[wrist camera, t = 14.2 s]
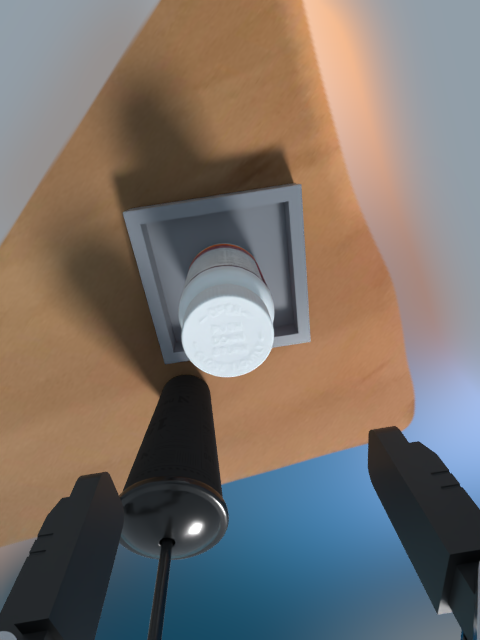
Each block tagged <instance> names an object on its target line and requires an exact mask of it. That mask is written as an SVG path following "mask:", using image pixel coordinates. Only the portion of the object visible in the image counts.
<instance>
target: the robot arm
mask: <svg viewBox="0 0 480 640" xmlns="http://www.w3.org/2000/svg"><path fill="white" fill-rule="evenodd" d="M368 470H369V475H370V479H371V482H372V484H373V487H374V489H375V491H376V493H377V495H378V497H379V499H380V501H381V503H382V505H383V507H384V509H385V510H386V513H387V515H388V517H389V519H390V521H391V523H392V525H393V527H394V529H395V531H396V533H397V535H398V537H399V539H400V540H401V543H402V545H403V547H404V548H405V550H406V553H407V555H408V557H409V559H410V560H411V562H412V564H413V566H414V568H415V570H416V572H417V574H418V576H419V578H420V580H421V582H422V584H423V586H424V588H425V590H426V592H427V594H428V596H429V598H430V600H431V602H432V604H433V606H434V608H435V610H436V612H437V614H438V615H439V614H445V613H450V612H453V614H454V616H455V618H456V619H457V621H458V623H459V625H460V627H461V639H460V640H480V509H479V508H478V507H477V505H476V504H475V503H474V501H473V500H472V499H471V498H470V496H469V495H468V494H467V493H466V491H465V490H464V489H463V488H462V487H460V484H459V482H458V481H457V480H456V478H455V477H454V476H453V475H452V474H450V472H449V469H448V468H447V467H446V466H445V464H444V463H443V462H442V461H441V459H440V458H439V457H438V455H437V454H436V453H434V452H433V451H432V450H430V449H429V448H427V447H426V446H424V445H423V444H422V443H420V442H412V443H409V442H408V441H407V439H406V438H405V437H404V435H403V434H402V432H401V431H400V430H399V429H398V428H397V427H396V426H392V427H386V428H380V429H373V430H370V431H369V443H368ZM123 524H124V509H123V505H122V502H121V500H120V497H119V495H118V493H117V490H116V488H115V486H114V483H113V481H112V479H111V476H110V474H109V473H108V472H102V473H96V474H89V475H83V476H80V477H79V478H78V480H77V481H76V484H75V486H74V488H73V490H72V493H71V495H70V497H66V498H62V499H61V500H60V501H59V502H58V503H57V505H56V506H55V507H54V508H53V509H52V511H51V512H50V513H49V514H48V515H47V517H46V519H45V521H44V523H43V525H42V527H41V529H40V531H39V534H38V538H37V540H35V542H34V544H33V546H32V548H31V550H30V555H29V557H27V559H26V561H25V563H24V565H23V567H22V569H21V571H20V573H19V575H18V577H17V579H16V581H15V584H14V586H13V588H12V590H11V592H10V594H9V596H8V598H7V600H6V602H5V604H4V606H3V609H2V611H1V613H0V640H94V639H95V635H96V631H97V627H98V623H99V619H100V616H101V612H102V607H103V603H104V600H105V596H106V592H107V588H108V584H109V580H110V576H111V572H112V568H113V564H114V560H115V556H116V552H117V549H118V545H119V541H120V537H121V533H122V529H123Z"/></svg>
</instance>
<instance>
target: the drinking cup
mask: <svg viewBox="0 0 480 640" xmlns="http://www.w3.org/2000/svg"><path fill="white" fill-rule="evenodd" d="M119 497H120V500H121V502H122V505H123V509H124V524H123V529H122V533H121V537H120V541H119V543H120V544H121V545H122V546H124V547H125V548H127V549H128V550H130V551H132V552H134V553H136V554H138V555H141V556H144V557H148V558H152V559H159V564H158V571H157V579H156V585H155V592H154V599H153V606H152V613H151V619H150V625H149V632H148V640H161V639H162V630H163V622H164V613H165V605H166V596H167V588H168V579H169V571H170V562H171V560H177V559H185V558H189V557H193V556H196V555H199V554H201V553H204V552H205V551H207V550H209V549H211V548H212V547H213V546H214V545H216V544H217V543H218V542H219V541H220V540H221V539H222V537H223V536H224V534H225V532H226V530H227V527H228V521H229V520H228V519H229V517H228V509H227V506H226V503H225V501H224V499H223V497H222V488H221V480H220V471H219V463H218V455H217V446H216V438H215V430H214V421H213V413H212V404H211V396H210V390H209V388H208V386H207V384H206V383H205V382H204V381H202V380H201V379H199V378H197V377H195V376H191V375H181V376H177V377H175V378H173V379H171V380H170V381H168V382H167V384H166V385H165V387H164V389H163V391H162V394H161V396H160V399H159V401H158V404H157V406H156V409H155V411H154V414H153V416H152V419H151V421H150V424H149V426H148V429H147V431H146V434H145V436H144V439H143V441H142V444H141V446H140V449H139V451H138V454H137V457H136V459H135V462H134V464H133V467H132V469H131V472H130V474H129V477H128V479H127V482H126V484H125V487H124V489H123V492H122V493H121V494H120V495H119Z"/></svg>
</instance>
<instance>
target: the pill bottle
mask: <svg viewBox="0 0 480 640" xmlns="http://www.w3.org/2000/svg"><path fill="white" fill-rule="evenodd" d="M273 321H274V304H273V300H272V296H271V294H270V291H269V289H268V287H267V284H266V282H265V280H264V278H263V275H262V273H261V270H260V268H259V266H258V264H257V262H256V260H255V259H254V258H253V256H252V255H251V254H250V253H249V252H248V251H246V250H245V249H243V248H242V247H240V246H237V245H234V244H229V243H220V244H215V245H211V246H209V247H207V248H205V249H204V250H202V251H201V252H199V253H198V254H197V256H196V257H195V258H194V260H193V261H192V263H191V265H190V267H189V271H188V274H187V278H186V281H185V285H184V289H183V292H182V296H181V299H180V304H179V322H180V326H181V328H182V332H181V339H182V345H183V348H184V351H185V353H186V355H187V357H188V358H189V359H190V361H191V362H192V363H193V364H194V365H195V366H196V367H198V368H199V369H201V370H202V371H204V372H206V373H208V374H211V375H214V376H219V377H235V376H239V375H243V374H246V373H248V372H250V371H252V370H254V369H255V368H257V367H258V366H259V365H260V364H262V363H263V361H264V360H265V359H266V358H267V356H268V355H269V353H270V351H271V348H272V345H273V342H274V328H273Z"/></svg>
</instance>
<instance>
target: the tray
mask: <svg viewBox="0 0 480 640" xmlns="http://www.w3.org/2000/svg"><path fill="white" fill-rule="evenodd" d="M123 215H124V219H125V223H126V226H127V230H128V233H129V237H130V241H131V244H132V248H133V251H134V255H135V258H136V262H137V266H138V269H139V273H140V276H141V280H142V284H143V287H144V291H145V294H146V298H147V301H148V305H149V309H150V312H151V316H152V319H153V323H154V327H155V330H156V334H157V337H158V341H159V345H160V348H161V352H162V355H163V359H164V362H165V364H170V363H177V362H183V361H190V359H189V358H188V357H187V355H186V353H185V351H184V348H183V345H182V339H181V332H182V328H181V326H180V322H179V304H180V299H181V296H182V292H183V289H184V285H185V281H186V278H187V274H188V271H189V267H190V265H191V263H192V261H193V260H194V258H195V257H196V256H197V254H198V253H199V252H201V251H202V250H204V249H205V248H207V247H209V246H211V245H215V244H220V243H229V244H234V245H237V246H240V247H242V248H243V249H245V250H246V251H248V252H249V253H250V254H251V255H252V256H253V258H254V259H255V260H256V262H257V264H258V266H259V268H260V270H261V273H262V275H263V278H264V280H265V282H266V284H267V287H268V289H269V291H270V294H271V296H272V300H273V304H274V321H273V328H274V342H273V345H272V348H273V347H280V346H286V345H292V344H299V343H305V342H311V341H310V324H309V307H308V290H307V273H306V257H305V240H304V223H303V206H302V189H301V184H296V183H291V184H284V185H278V186H271V187H265V188H259V189H252V190H246V191H239V192H233V193H227V194H220V195H214V196H207V197H201V198H195V199H188V200H182V201H175V202H169V203H163V204H156V205H150V206H143V207H137V208H131V209H129V210H127V211H124V212H123Z"/></svg>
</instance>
